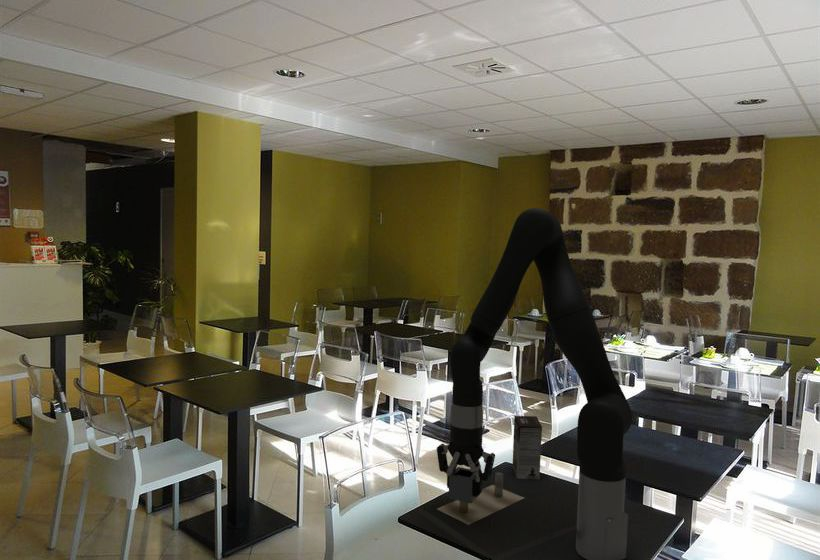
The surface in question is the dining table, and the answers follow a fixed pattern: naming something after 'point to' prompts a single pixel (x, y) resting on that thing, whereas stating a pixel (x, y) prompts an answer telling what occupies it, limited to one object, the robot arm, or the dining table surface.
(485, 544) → the dining table surface
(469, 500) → the collar
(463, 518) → the board
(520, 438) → the coffee box
